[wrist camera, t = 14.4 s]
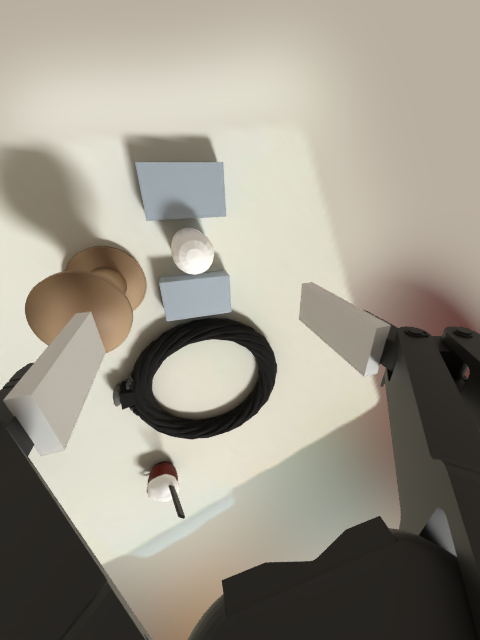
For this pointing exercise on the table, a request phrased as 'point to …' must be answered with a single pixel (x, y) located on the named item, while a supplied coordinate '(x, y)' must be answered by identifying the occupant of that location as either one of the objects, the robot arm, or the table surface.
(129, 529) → the table surface
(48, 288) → the knob
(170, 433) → the cable lock
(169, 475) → the cocoa
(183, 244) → the capsule
